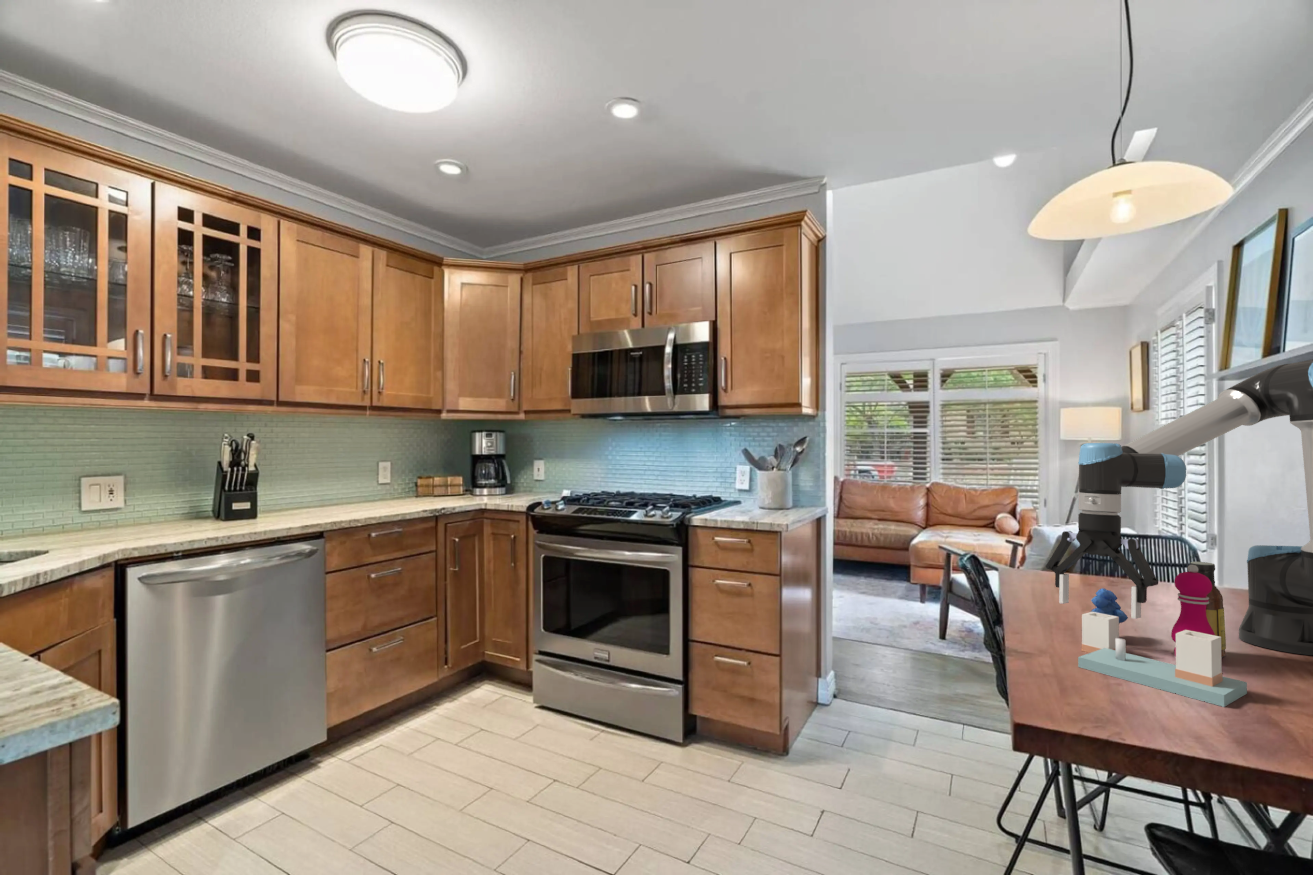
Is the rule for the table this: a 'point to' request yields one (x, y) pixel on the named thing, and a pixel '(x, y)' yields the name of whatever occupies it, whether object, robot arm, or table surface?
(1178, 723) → the table surface
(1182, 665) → the seated sleeve
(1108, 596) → the grapes
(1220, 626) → the sauce bottle
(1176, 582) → the pepper mill
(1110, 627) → the sleeve
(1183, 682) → the pin board
